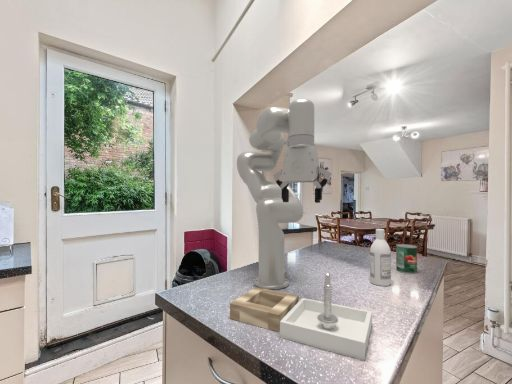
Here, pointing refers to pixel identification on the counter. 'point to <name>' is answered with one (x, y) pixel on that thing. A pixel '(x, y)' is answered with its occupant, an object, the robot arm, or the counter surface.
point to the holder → (263, 307)
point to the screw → (327, 307)
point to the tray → (335, 340)
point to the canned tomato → (406, 258)
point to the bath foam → (380, 260)
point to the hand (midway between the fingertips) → (301, 202)
